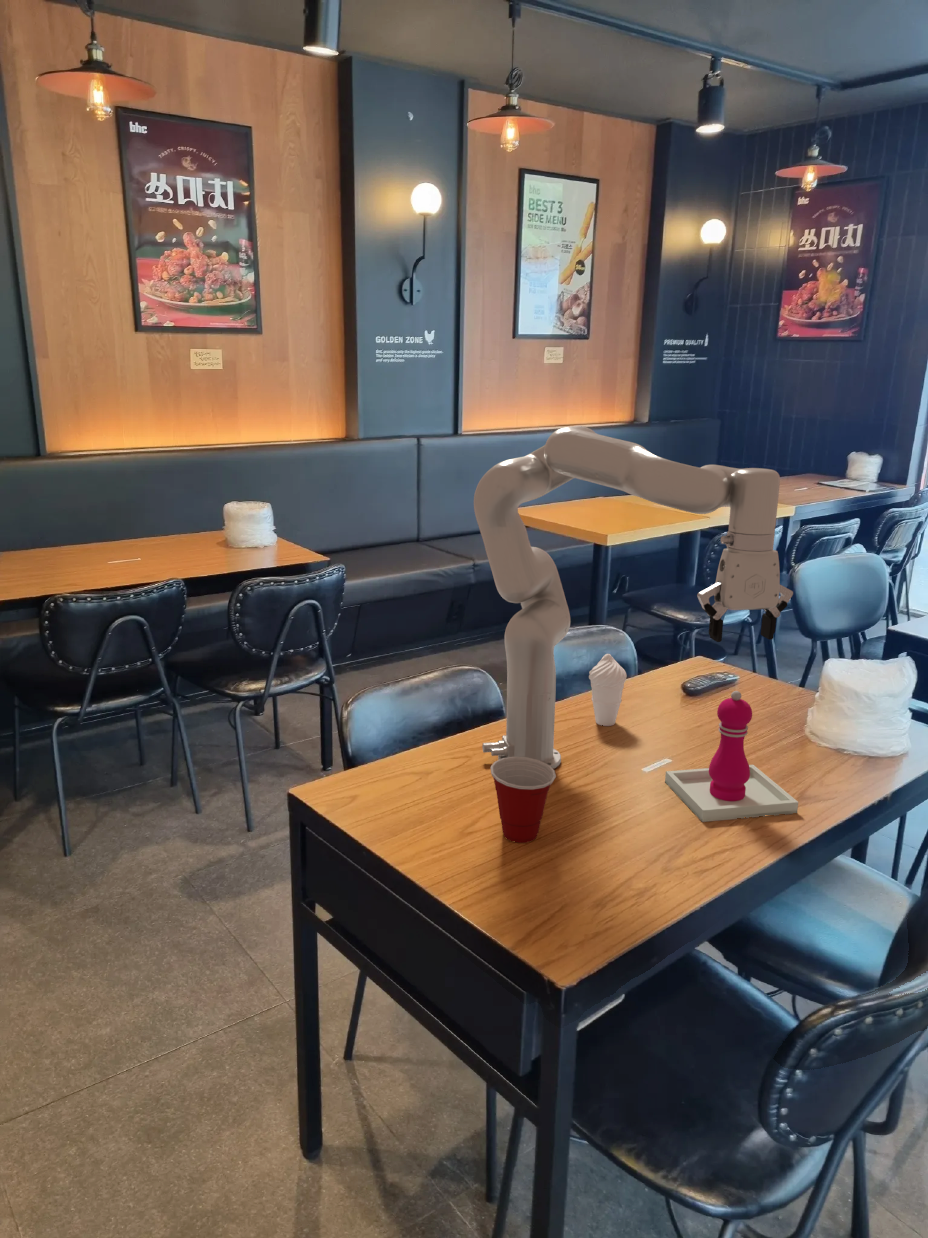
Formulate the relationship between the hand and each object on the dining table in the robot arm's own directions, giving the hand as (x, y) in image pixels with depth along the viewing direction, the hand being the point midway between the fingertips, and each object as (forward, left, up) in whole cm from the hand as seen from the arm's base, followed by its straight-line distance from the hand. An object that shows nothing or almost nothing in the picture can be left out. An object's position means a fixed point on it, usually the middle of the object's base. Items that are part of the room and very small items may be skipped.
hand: (741, 638), depth 153 cm
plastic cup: (-41, -7, -31) cm, 51 cm away
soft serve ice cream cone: (-10, +39, -31) cm, 50 cm away
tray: (0, 0, -30) cm, 30 cm away
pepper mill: (0, 0, -30) cm, 30 cm away
